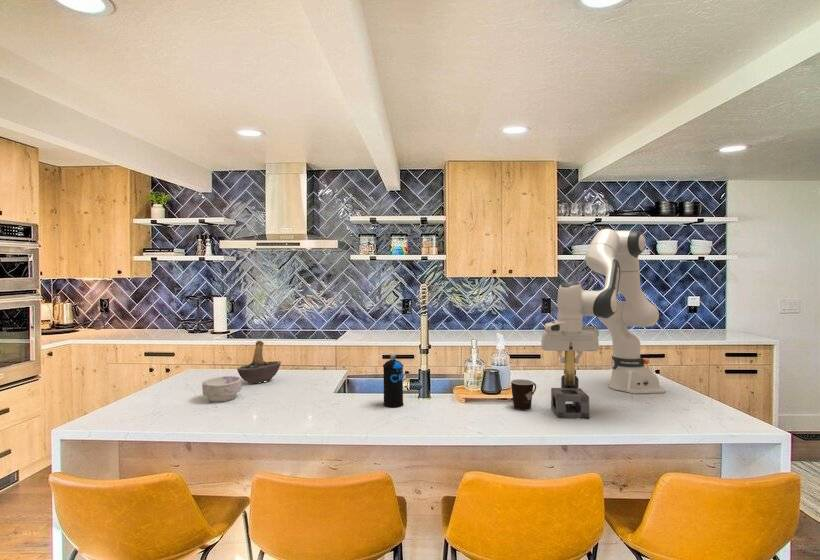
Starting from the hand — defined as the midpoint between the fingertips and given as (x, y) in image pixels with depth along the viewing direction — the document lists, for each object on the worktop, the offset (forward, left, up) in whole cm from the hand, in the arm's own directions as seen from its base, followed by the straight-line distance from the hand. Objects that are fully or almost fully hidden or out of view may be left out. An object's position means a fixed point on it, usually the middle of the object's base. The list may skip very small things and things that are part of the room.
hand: (569, 362), depth 166 cm
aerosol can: (+67, -5, -19) cm, 70 cm away
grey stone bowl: (+140, -7, -19) cm, 142 cm away
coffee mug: (+15, -6, -19) cm, 25 cm away
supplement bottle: (-5, -20, -19) cm, 28 cm away
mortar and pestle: (+136, -34, -19) cm, 142 cm away
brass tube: (0, 0, -8) cm, 8 cm away
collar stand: (0, 0, -19) cm, 19 cm away
